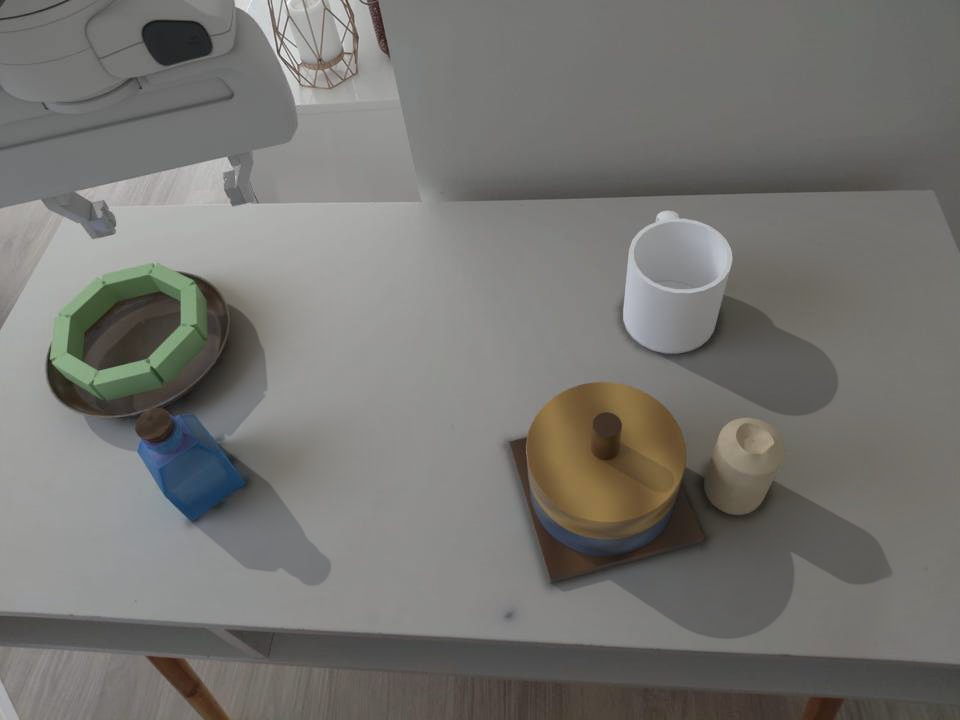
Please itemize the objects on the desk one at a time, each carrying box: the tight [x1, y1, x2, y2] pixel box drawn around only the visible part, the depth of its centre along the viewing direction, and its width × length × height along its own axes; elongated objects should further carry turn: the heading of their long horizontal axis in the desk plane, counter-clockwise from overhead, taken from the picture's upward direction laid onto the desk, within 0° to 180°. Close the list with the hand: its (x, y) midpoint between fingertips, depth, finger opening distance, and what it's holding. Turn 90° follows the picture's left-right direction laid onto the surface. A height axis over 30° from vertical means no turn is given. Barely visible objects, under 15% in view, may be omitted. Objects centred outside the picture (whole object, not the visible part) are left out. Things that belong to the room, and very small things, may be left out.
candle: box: [703, 417, 786, 516], centre depth 67 cm, size 6×6×10 cm
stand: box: [508, 381, 705, 584], centre depth 67 cm, size 14×14×13 cm
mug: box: [622, 210, 733, 355], centre depth 80 cm, size 13×10×10 cm
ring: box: [50, 262, 208, 400], centre depth 83 cm, size 16×16×3 cm
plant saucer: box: [44, 270, 231, 419], centre depth 86 cm, size 21×21×3 cm
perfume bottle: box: [134, 408, 247, 523], centre depth 72 cm, size 6×6×12 cm
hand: (175, 214), depth 51 cm, fingers open, 8 cm apart
